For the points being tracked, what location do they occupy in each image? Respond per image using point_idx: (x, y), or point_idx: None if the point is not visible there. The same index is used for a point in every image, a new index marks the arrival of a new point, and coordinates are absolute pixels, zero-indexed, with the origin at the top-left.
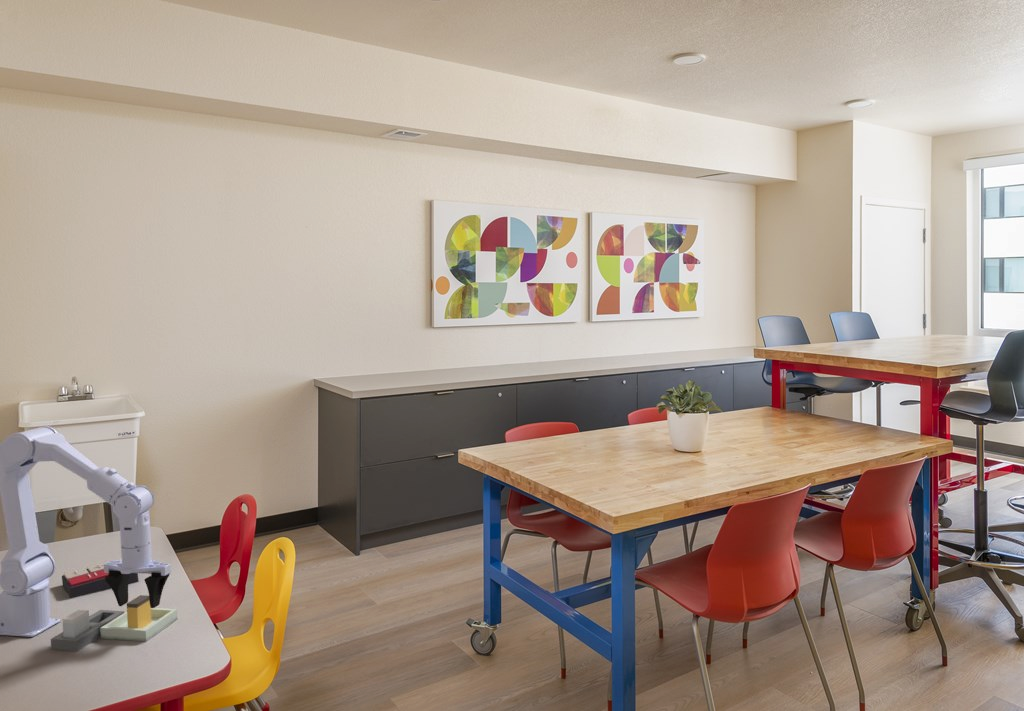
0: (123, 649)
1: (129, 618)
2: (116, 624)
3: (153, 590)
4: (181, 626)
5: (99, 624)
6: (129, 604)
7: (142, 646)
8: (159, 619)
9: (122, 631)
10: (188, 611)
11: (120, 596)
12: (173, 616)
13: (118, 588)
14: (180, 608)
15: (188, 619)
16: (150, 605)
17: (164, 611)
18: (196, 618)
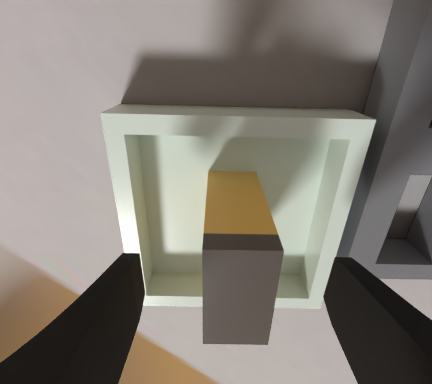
0: (169, 7)
1: (252, 197)
2: (325, 194)
3: (5, 364)
4: (86, 234)
5: (398, 158)
6: (260, 247)
7: (99, 53)
8: (132, 227)
9: (241, 114)
10: (150, 317)
11: (369, 309)
12: None
13: (424, 374)
14: (190, 329)
15: None
16: (131, 262)
17: (179, 291)
18: (84, 284)
